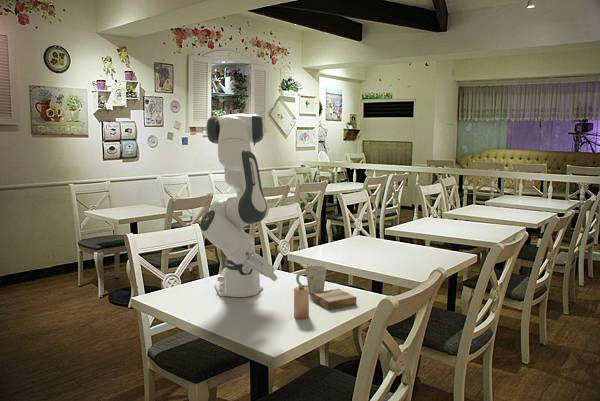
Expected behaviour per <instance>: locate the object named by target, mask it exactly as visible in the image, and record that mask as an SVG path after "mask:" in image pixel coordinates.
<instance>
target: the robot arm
mask: <svg viewBox="0 0 600 401" xmlns="http://www.w3.org/2000/svg"><path fill="white" fill-rule="evenodd" d="M205 134H206V136H207V138H208V140H209V142H211V143H212V144H216V145H217V157H218V161H219V163H220V164H221V165H222V166H223V167H224V181H225V183H226V184H227V185H228V186H229V187H231V188H233V189H234V190H235V192H236V196H231V197H224V198H220V199H217V200H215V201H213V202H212V203H211V205H210V208H209V211H207V212H206V214H205V215H204V216H203V217H202V219H201V221H200V224H199V228H200V232H201V233H202V235H204V237H205V238H206V239H207V240H208V241H209V242H210V243H211V244H212V245H213V246H214V247H215V248H218V249H219V250H221V251H222V253H223V254H224V255H225V257H226V259H225V264H224V265H225V267H224V268H223V269H222V271H221V272H220V273H219V275H217V282H216V283H214V288H215V291H217V294H218V296H219V297H220V296H221V297H231V298H247V297H253V296H255V295H257V294H259V293H260V292H261V291H262V290H264V287H263V285H261V280H260V275H261V276H264V277H266V278H269V279H270V280H271V281H272V282H276V281H277V279H278V276H277V275H276V274H275V273H274V272H275V270H276V268H275V267H274V266H273V265H272V264H271V263H270V262H269V261H267V260H266V259H265V258H264V257H263V256H261V255H260V254H258V253H256V249H255V246H256V245H255V238H254V237H253V236H252V235H251V234H249V233H247V232H245V229H244V228H245V227H247V226H250V225H252V224H256V223H259V222H262V221H263V220H265V219H266V218H267V217H268V215H269V212H270V205H269V202H268V200H267V199H266V198H265V195H264V190H263V187H262V181H261V175H260V170H259V164H258V161H257V160H258V159H257V158H256V156H255V154H254V153H253V152H252V147H251V143H253V146H256V144H257V143H260V142H261V141H262V140H263V139H264V136H265V134H266V124H265V121H264V120H263V117H262V116H261V115H259V114H253V113H252V114H247V113H235V114H234V113H233V114H225V115H223V114H222V115H217V114H216V115H213V116H210V117H209V118H208V119H207V121H206V125H205Z"/></svg>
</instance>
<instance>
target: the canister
mask: <svg viewBox="0 0 600 401" xmlns="http://www.w3.org/2000/svg"><path fill="white" fill-rule="evenodd" d="M304 285H305V284H302V285H299V284H298V286H296V287H294V288H293V317H294V318H295V319H297V320H307V319H308V318H309V317H310V293H309V288H308V287H304ZM306 318H307V319H306Z"/></svg>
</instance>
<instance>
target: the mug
mask: <svg viewBox="0 0 600 401" xmlns="http://www.w3.org/2000/svg"><path fill="white" fill-rule="evenodd" d="M301 275H306V281H307V284H303V283H301V281H300V277H301ZM326 276H327V267H326V266H322V265H309V266H306V267H305V270H301V271H299V272H298V273H297V274H296V276H295V281H296V284H297V285H298V286H299V285H304V287H307V288H309V294H310V295H311V294H312V295H313V293H316V292H322V291H325V284H326Z"/></svg>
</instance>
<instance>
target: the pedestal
mask: <svg viewBox="0 0 600 401" xmlns="http://www.w3.org/2000/svg"><path fill="white" fill-rule="evenodd" d="M312 302H314V303H316V304H318V305H319V306H321V307H323V308H325V309H326V310H328V311H332V310H336V309H342V308H348V307H351V306H357V296H355V295H354V294H351V293H349V292H347V291H345V290H343V289H340V288H336V289H329V290H328V289H327V290H324V291H322V292H316V293H313V294H312Z"/></svg>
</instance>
